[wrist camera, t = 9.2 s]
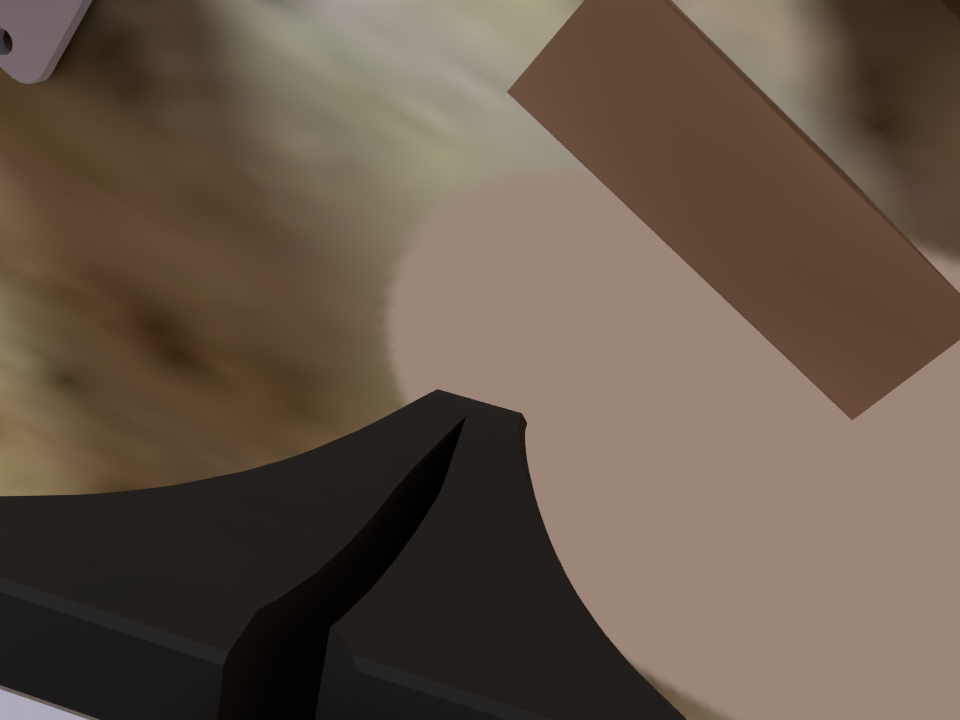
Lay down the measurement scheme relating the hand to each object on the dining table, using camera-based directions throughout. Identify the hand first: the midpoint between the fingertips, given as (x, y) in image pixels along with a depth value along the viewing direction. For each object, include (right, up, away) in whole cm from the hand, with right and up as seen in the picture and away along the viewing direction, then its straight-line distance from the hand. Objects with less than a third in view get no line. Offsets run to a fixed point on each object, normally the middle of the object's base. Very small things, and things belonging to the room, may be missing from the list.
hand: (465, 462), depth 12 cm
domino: (+5, +6, +4) cm, 8 cm away
